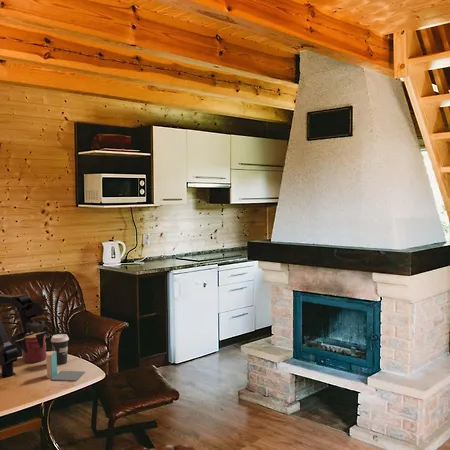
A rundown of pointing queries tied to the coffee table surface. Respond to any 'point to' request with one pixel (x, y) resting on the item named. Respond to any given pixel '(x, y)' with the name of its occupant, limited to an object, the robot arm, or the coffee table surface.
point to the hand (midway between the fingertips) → (34, 350)
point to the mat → (68, 376)
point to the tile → (51, 364)
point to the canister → (34, 350)
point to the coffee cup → (60, 347)
